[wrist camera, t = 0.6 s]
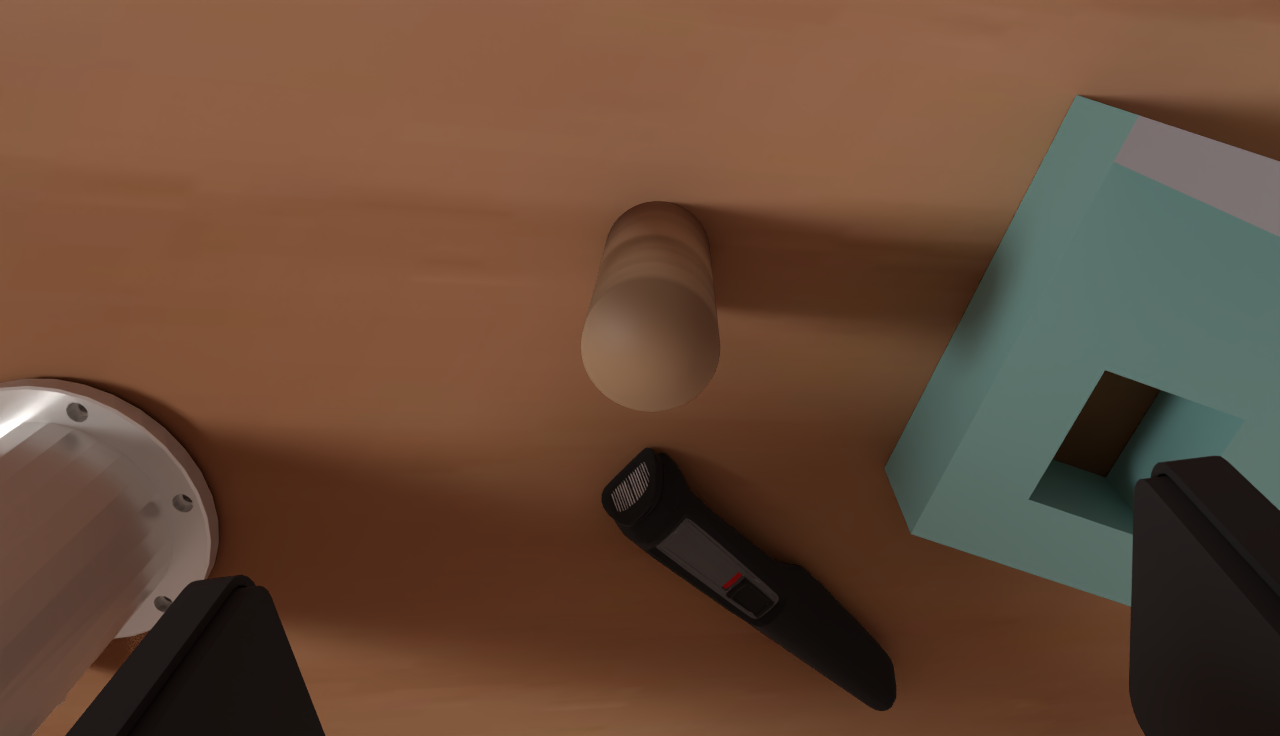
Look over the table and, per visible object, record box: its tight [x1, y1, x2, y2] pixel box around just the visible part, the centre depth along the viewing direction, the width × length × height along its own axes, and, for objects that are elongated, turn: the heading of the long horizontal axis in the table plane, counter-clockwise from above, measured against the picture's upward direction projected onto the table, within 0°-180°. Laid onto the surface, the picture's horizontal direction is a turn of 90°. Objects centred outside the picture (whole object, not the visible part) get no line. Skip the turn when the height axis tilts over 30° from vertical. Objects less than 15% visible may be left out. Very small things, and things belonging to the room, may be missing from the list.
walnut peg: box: [581, 201, 720, 412], centre depth 32 cm, size 4×4×10 cm
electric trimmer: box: [602, 448, 896, 711], centre depth 41 cm, size 4×16×3 cm, turn 48°
